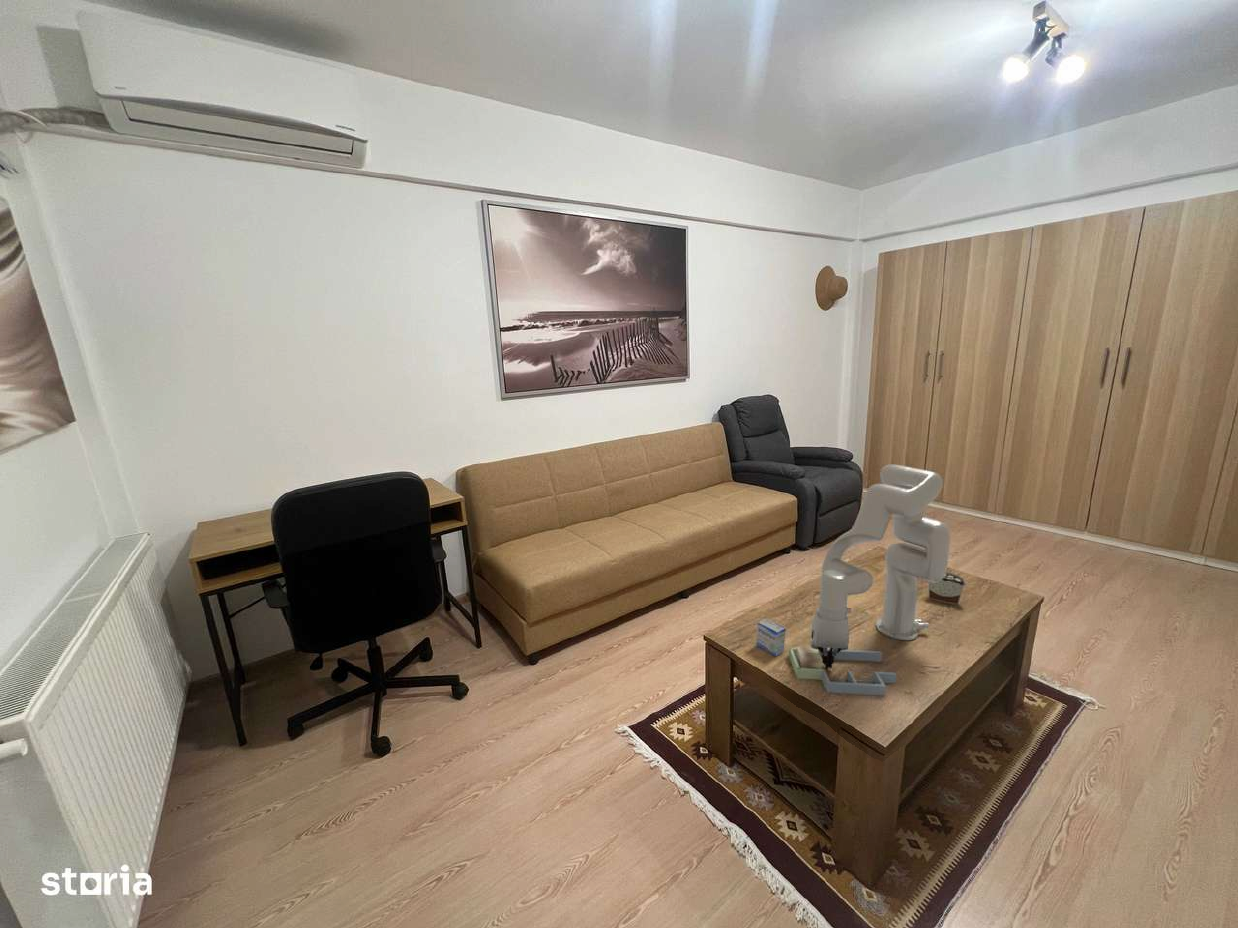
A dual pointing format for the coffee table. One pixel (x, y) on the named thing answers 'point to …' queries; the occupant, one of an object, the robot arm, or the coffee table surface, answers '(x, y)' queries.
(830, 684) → the tray
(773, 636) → the medicine box
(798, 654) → the birch block
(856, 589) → the robot arm
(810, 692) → the coffee table surface
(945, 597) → the food container
